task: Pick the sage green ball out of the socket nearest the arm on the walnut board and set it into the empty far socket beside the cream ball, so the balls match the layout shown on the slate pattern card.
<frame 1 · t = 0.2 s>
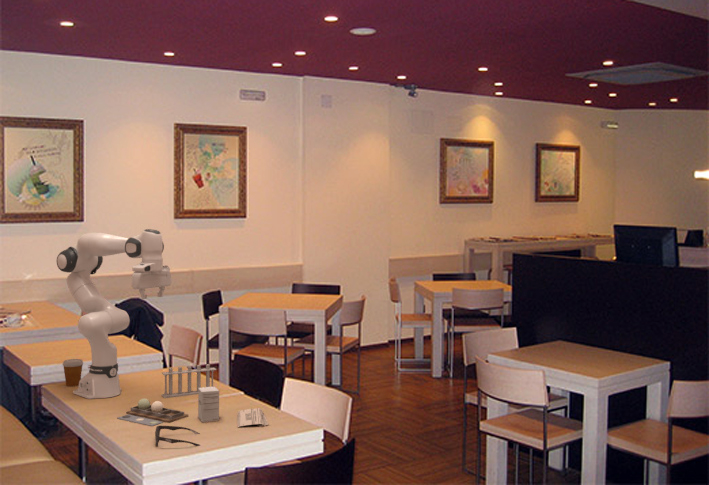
hand: (152, 297, 310), 47 cm above the table, tool pointing down, fingers open, 8 cm apart
test tube rack: (189, 394, 330), on the table
newspaper: (252, 421, 291), on the table
sunglasses: (178, 442, 263), on the table
cream ball: (157, 407, 295), point 3 cm above the table, touching socket board
pattern card: (139, 420, 287), on the table
socket board: (157, 415, 295), on the table
disposable coffee cup: (73, 385, 344), on the table
sage ball: (143, 404, 299), point 3 cm above the table, touching socket board
supplement box: (208, 419, 290), on the table
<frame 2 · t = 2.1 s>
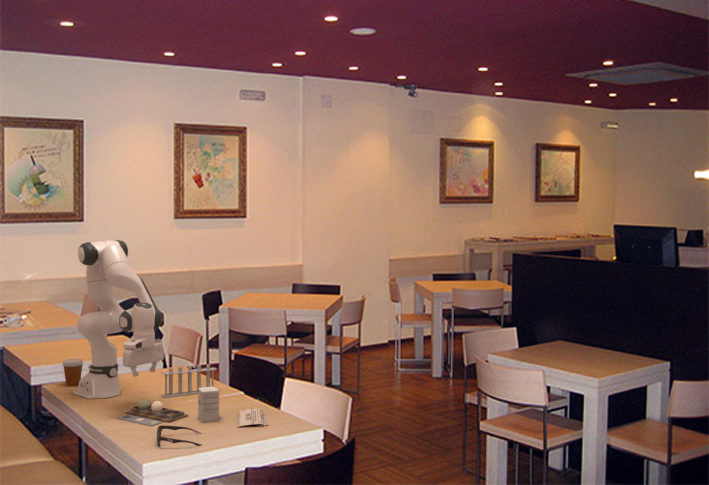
hand: (144, 374, 298), 16 cm above the table, tool pointing down, fingers open, 8 cm apart
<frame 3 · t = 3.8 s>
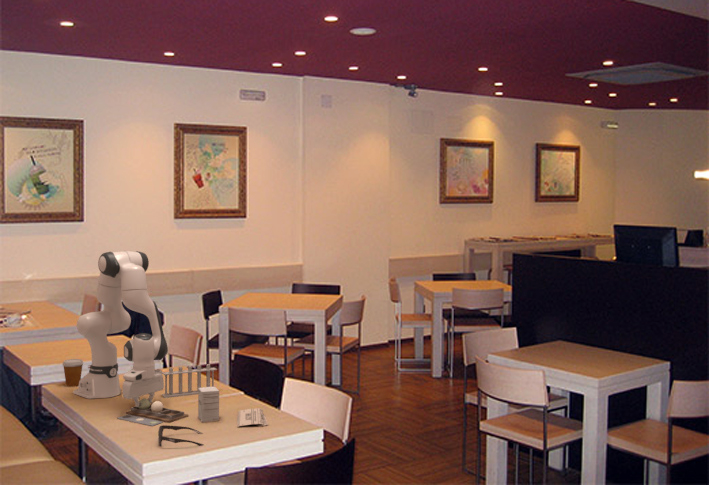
hand: (143, 404, 299), 3 cm above the table, tool pointing down, fingers closed on sage ball, 5 cm apart
sage ball: (143, 404, 299), point 3 cm above the table, touching gripper, socket board
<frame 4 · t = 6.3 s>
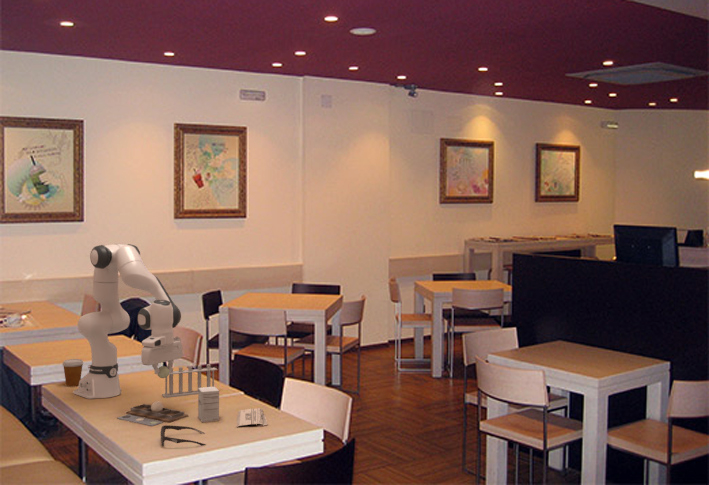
hand: (163, 372, 293), 18 cm above the table, tool pointing down, fingers closed on sage ball, 5 cm apart
sage ball: (163, 372, 293), point 19 cm above the table, touching gripper
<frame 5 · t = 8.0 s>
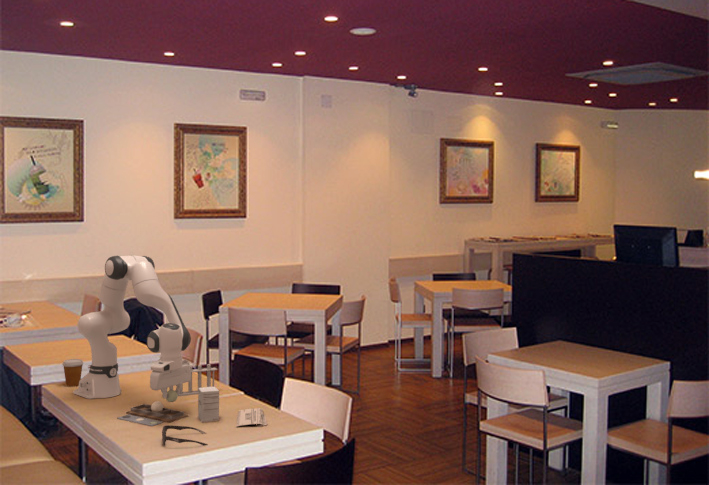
hand: (171, 396, 291), 9 cm above the table, tool pointing down, fingers closed on sage ball, 5 cm apart
sage ball: (171, 396, 291), point 9 cm above the table, touching gripper
when the fingers open (4 cm above the table, at t = 9.1 s): sage ball drops 1 cm, resting on socket board.
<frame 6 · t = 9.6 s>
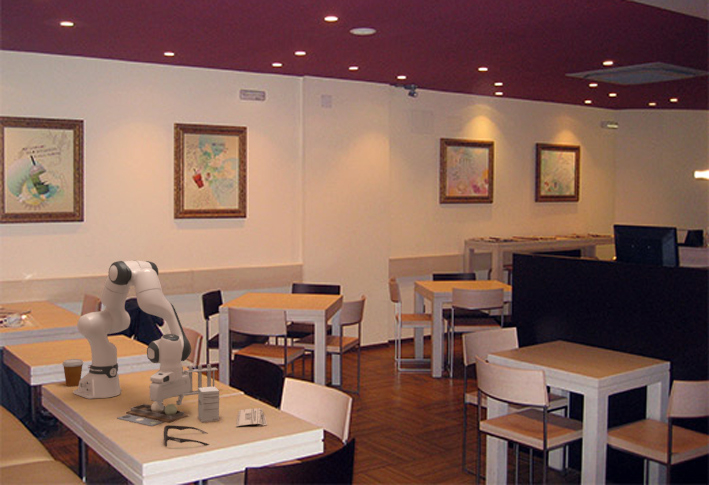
hand: (170, 407, 291), 4 cm above the table, tool pointing down, fingers open, 8 cm apart
sage ball: (170, 410, 291), point 3 cm above the table, touching socket board
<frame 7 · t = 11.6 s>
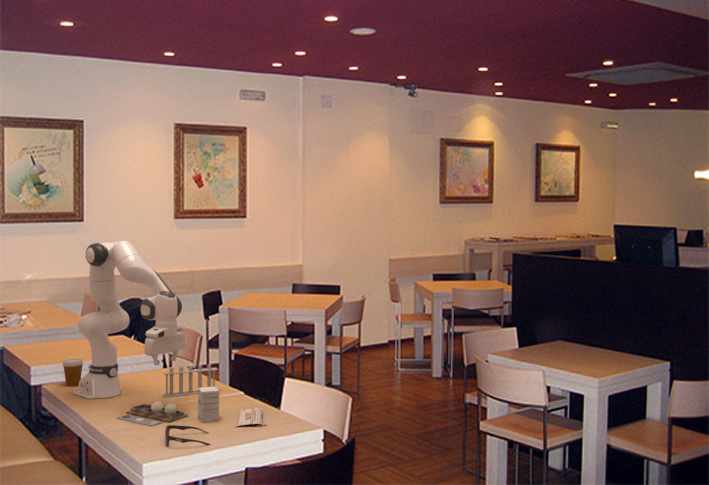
hand: (165, 362, 297), 21 cm above the table, tool pointing down, fingers open, 8 cm apart
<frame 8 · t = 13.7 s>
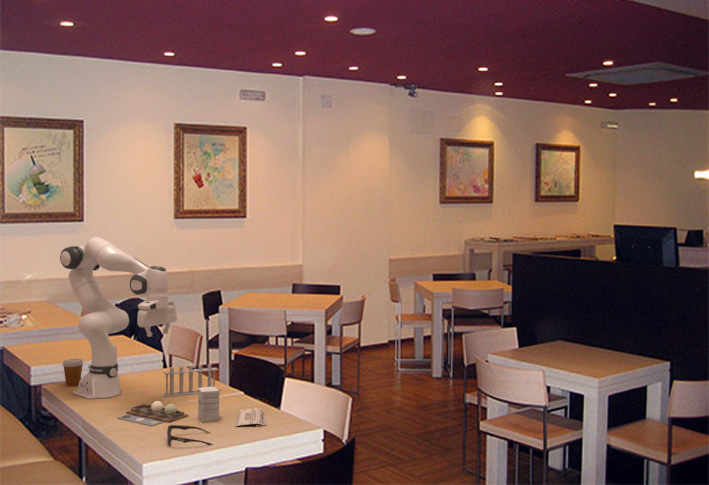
hand: (157, 334, 309), 31 cm above the table, tool pointing down, fingers open, 8 cm apart
at the end: sage ball 0.2 cm from the target spot on the socket board, point 3.3 cm above the socket board's base; the gripper is holding nothing; cream ball moved 0.1 cm from its start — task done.
